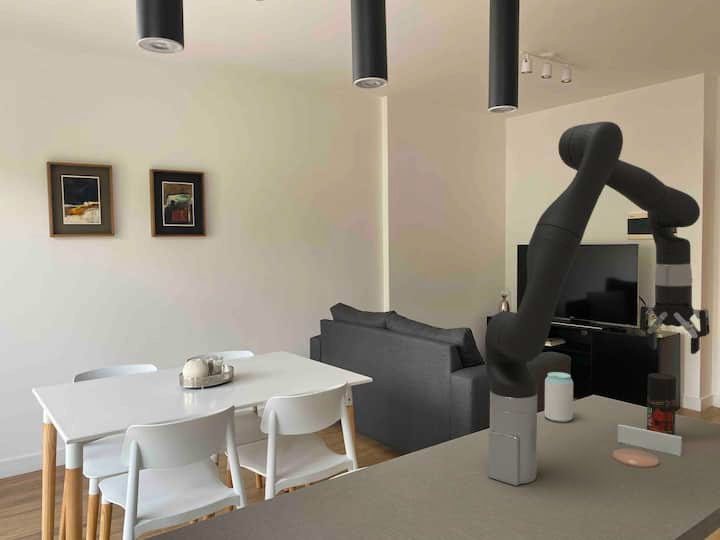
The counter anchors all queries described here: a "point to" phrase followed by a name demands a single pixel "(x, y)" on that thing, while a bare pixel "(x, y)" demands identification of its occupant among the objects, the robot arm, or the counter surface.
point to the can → (558, 397)
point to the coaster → (636, 457)
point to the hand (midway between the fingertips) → (673, 350)
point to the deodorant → (661, 403)
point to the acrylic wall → (650, 439)
